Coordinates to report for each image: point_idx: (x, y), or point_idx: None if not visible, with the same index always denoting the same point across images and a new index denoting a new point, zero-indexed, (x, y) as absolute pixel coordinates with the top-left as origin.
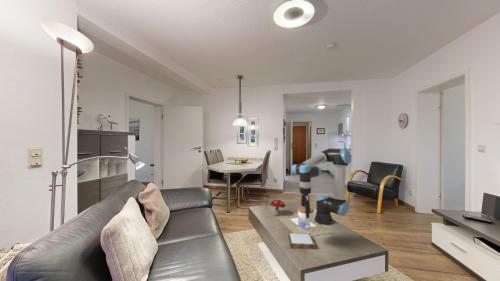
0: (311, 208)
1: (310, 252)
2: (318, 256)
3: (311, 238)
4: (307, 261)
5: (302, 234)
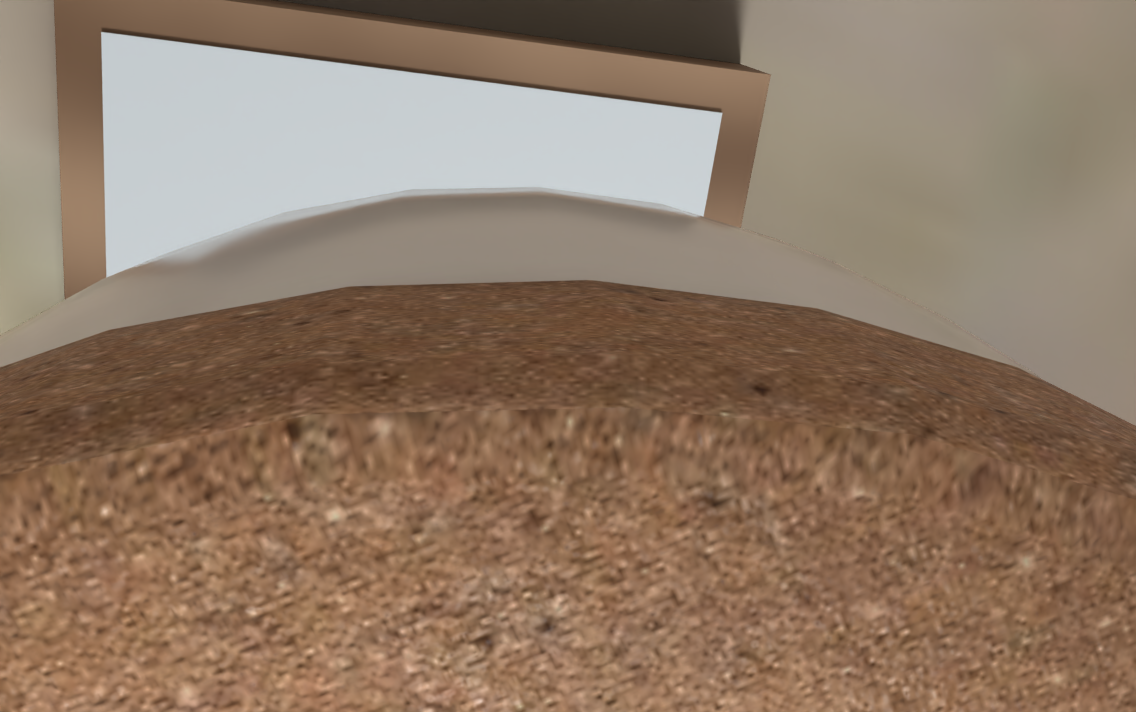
0: (283, 681)
1: (850, 221)
2: (1027, 91)
3: (404, 45)
4: (1127, 379)
5: (158, 249)
